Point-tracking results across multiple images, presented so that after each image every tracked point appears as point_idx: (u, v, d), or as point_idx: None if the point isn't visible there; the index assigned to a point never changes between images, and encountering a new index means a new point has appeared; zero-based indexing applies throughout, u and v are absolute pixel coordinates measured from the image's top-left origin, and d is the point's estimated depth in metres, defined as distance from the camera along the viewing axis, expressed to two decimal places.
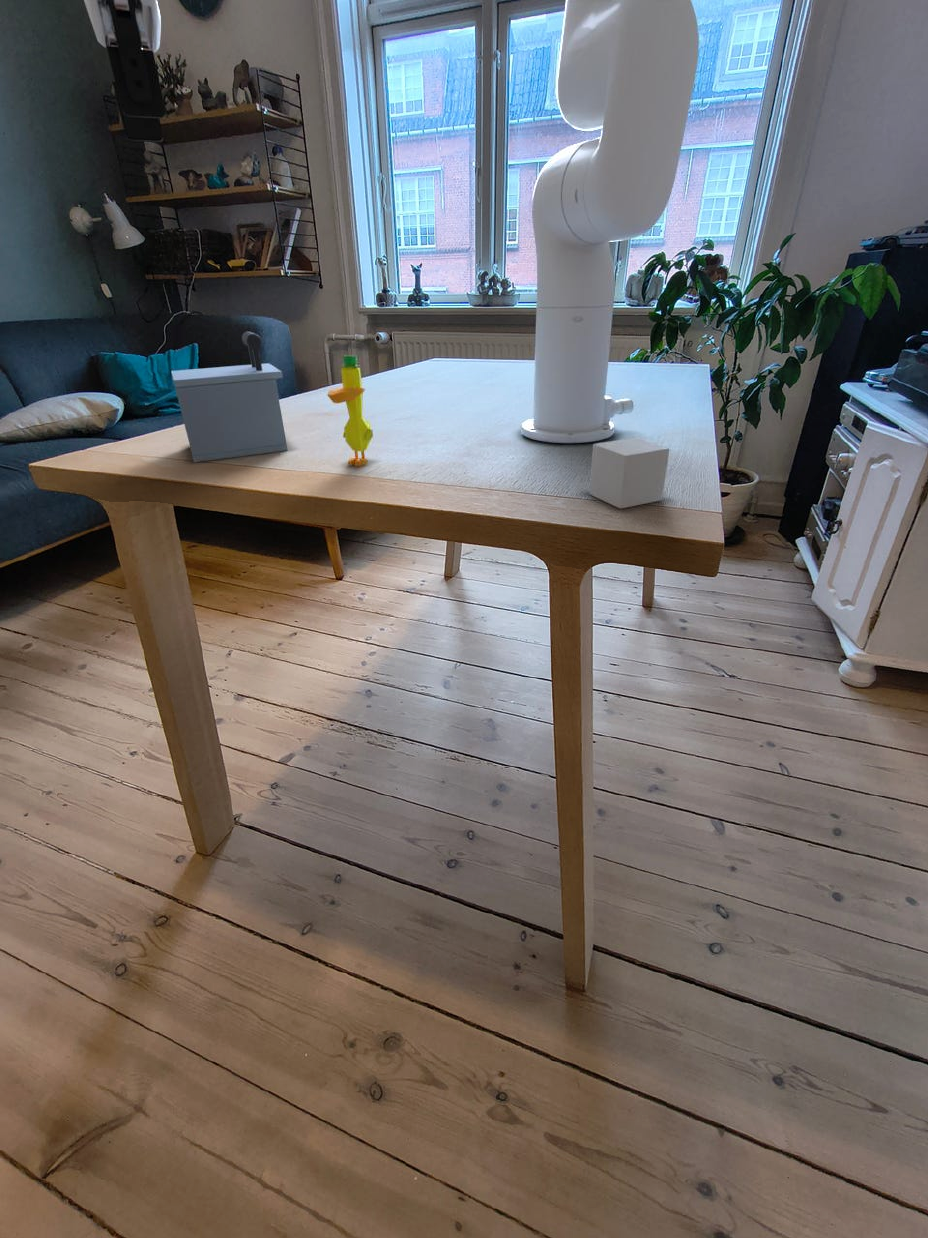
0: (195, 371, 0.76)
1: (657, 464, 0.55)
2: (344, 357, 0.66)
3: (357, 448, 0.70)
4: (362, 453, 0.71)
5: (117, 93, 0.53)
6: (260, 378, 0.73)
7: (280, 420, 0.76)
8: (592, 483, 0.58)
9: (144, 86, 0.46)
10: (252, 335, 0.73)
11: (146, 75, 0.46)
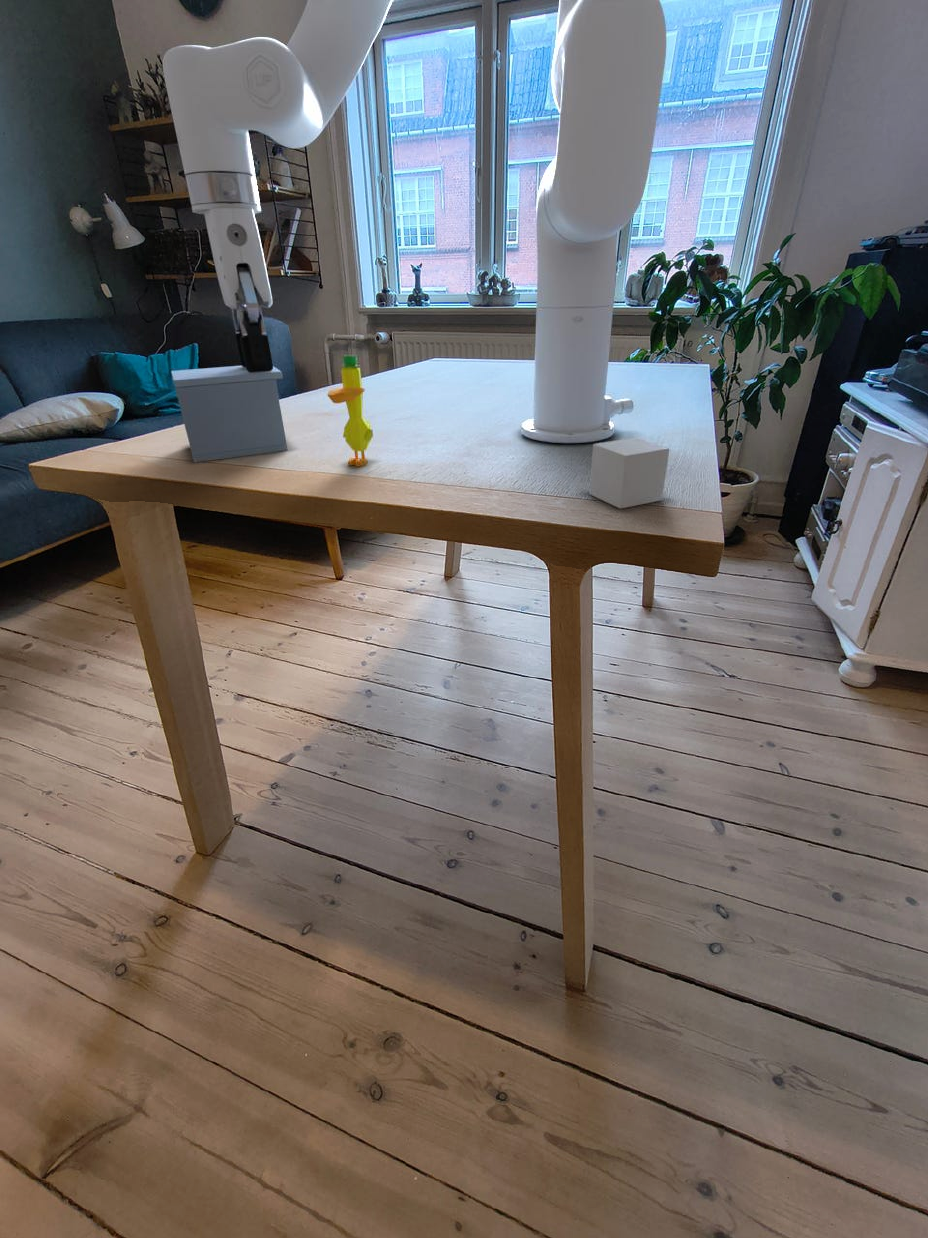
0: (195, 371, 0.76)
1: (657, 464, 0.55)
2: (344, 357, 0.66)
3: (357, 448, 0.70)
4: (362, 453, 0.71)
5: (238, 341, 0.77)
6: (260, 378, 0.73)
7: (280, 420, 0.76)
8: (592, 483, 0.58)
9: (261, 357, 0.73)
10: None
11: (263, 351, 0.73)
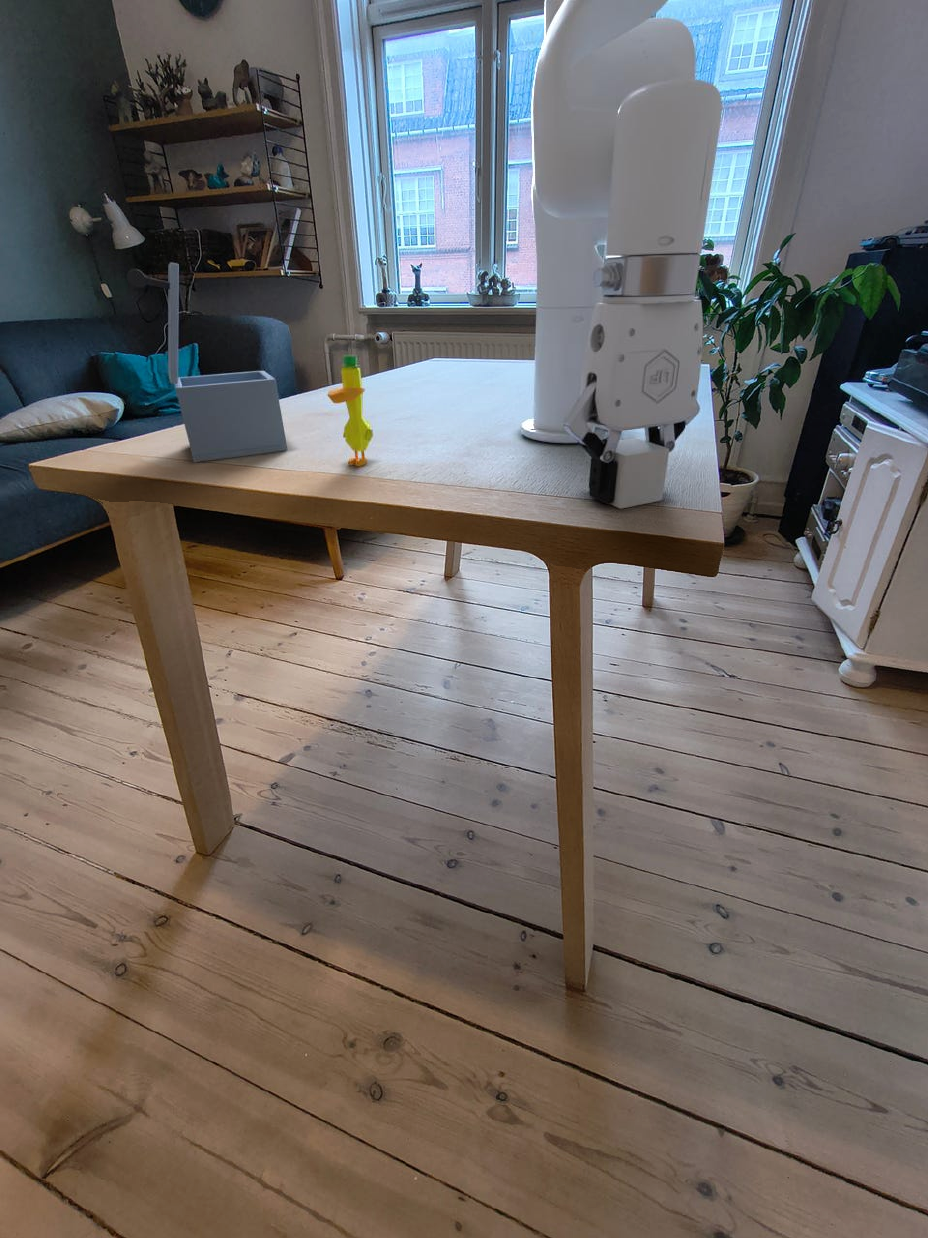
0: None
1: (657, 464, 0.55)
2: (344, 357, 0.66)
3: (357, 448, 0.70)
4: (362, 453, 0.71)
5: None
6: (176, 290, 0.66)
7: (280, 420, 0.76)
8: None
9: (596, 485, 0.56)
10: (129, 277, 0.65)
11: (598, 479, 0.55)
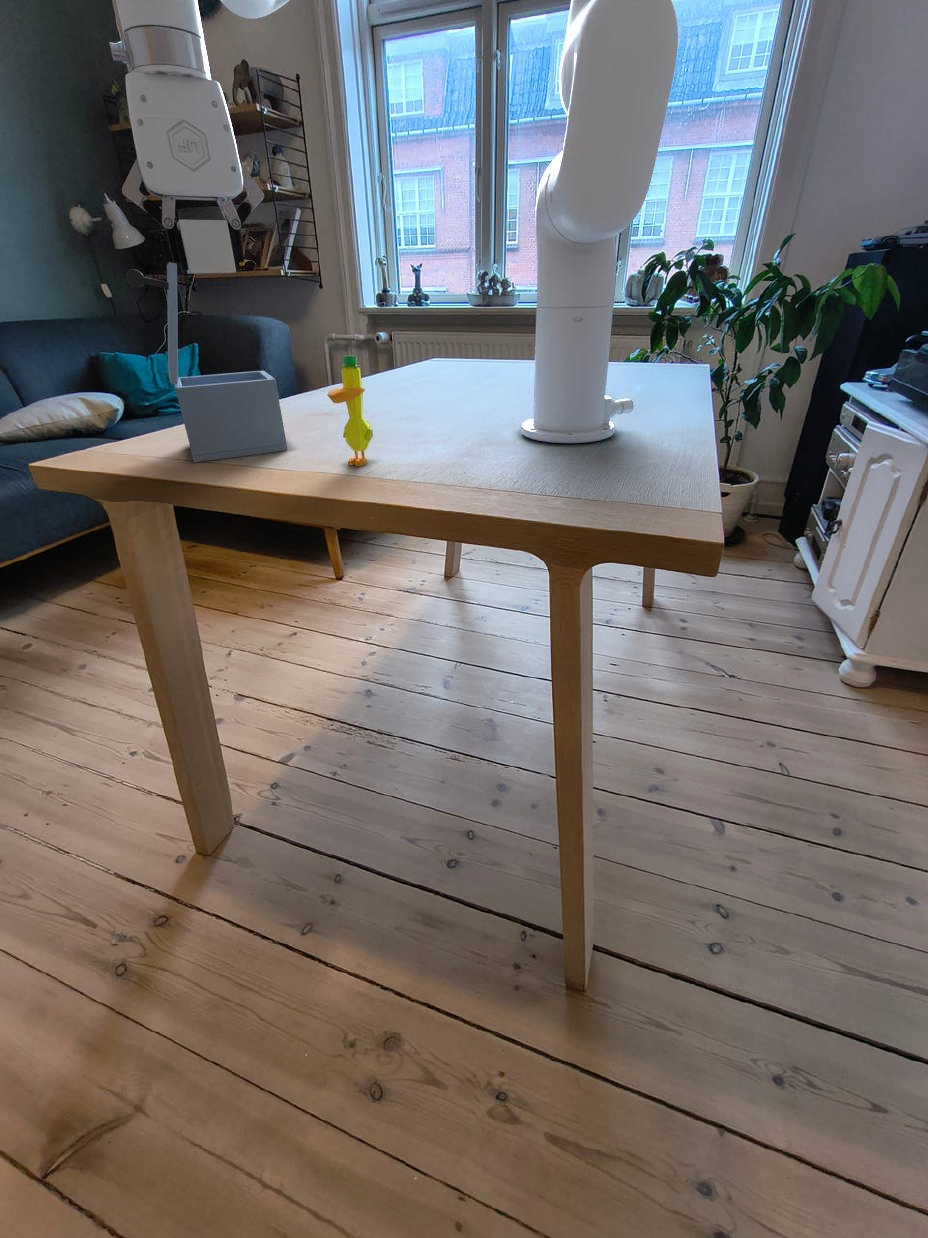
0: (168, 351, 0.74)
1: (218, 234, 0.66)
2: (344, 357, 0.66)
3: (357, 448, 0.70)
4: (362, 453, 0.71)
5: None
6: (175, 290, 0.66)
7: (280, 420, 0.76)
8: None
9: None
10: (127, 277, 0.65)
11: (170, 246, 0.67)
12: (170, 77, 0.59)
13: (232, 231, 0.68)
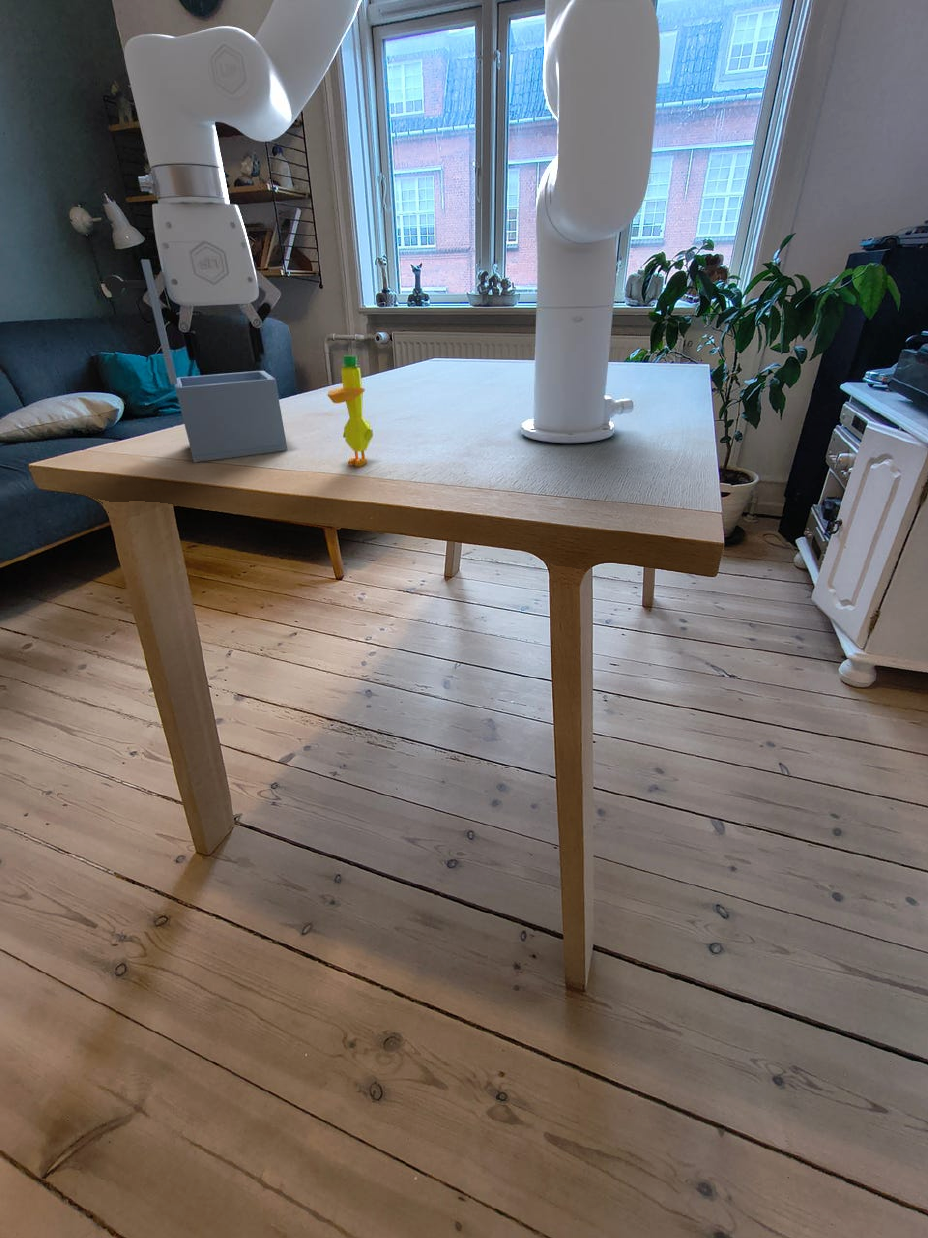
0: None
1: None
2: (344, 357, 0.66)
3: (357, 448, 0.70)
4: (362, 453, 0.71)
5: None
6: (154, 287, 0.65)
7: (280, 420, 0.76)
8: None
9: (187, 352, 0.72)
10: (106, 285, 0.65)
11: (186, 347, 0.72)
12: (193, 205, 0.65)
13: (254, 330, 0.73)
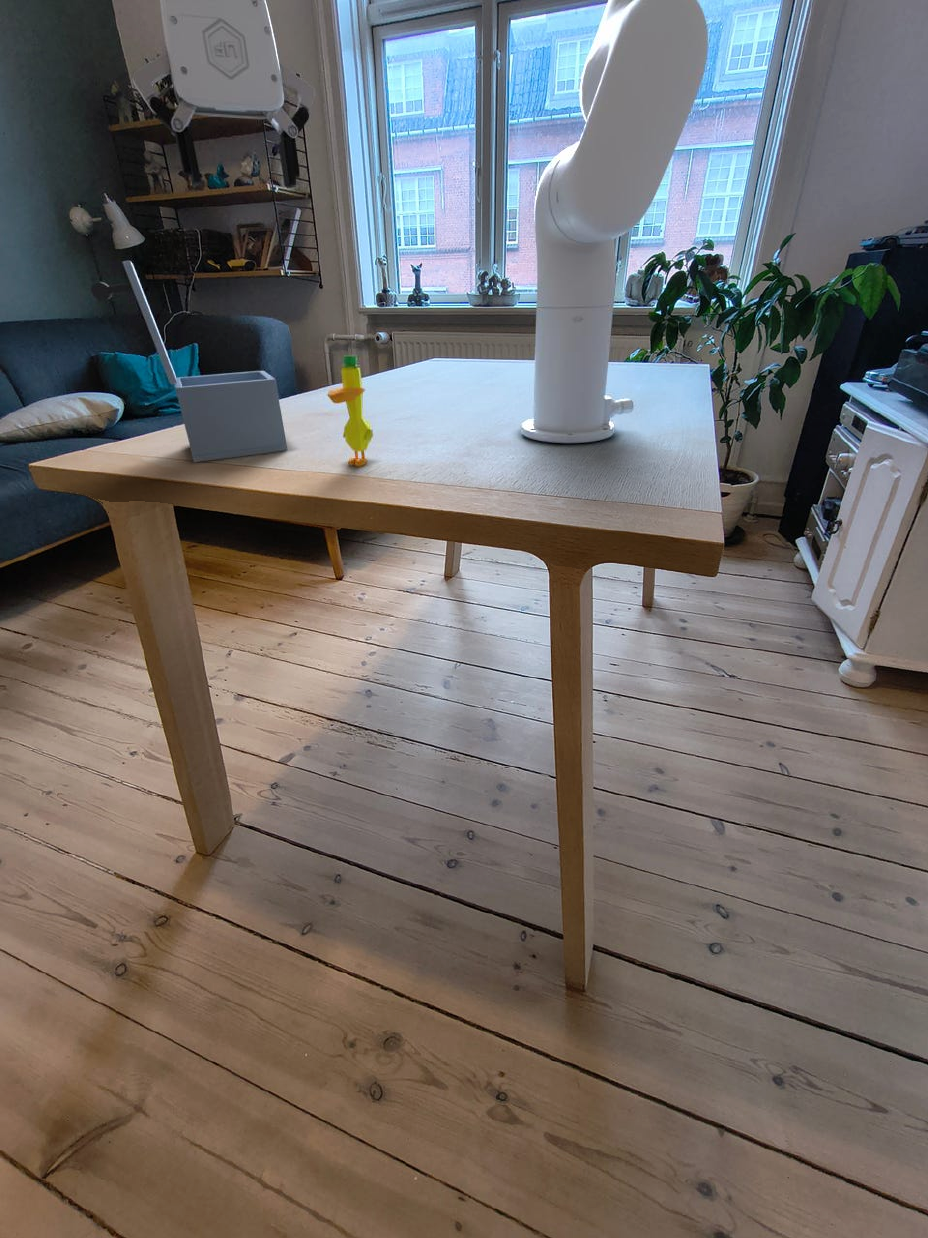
0: None
1: None
2: (344, 357, 0.66)
3: (357, 448, 0.70)
4: (362, 453, 0.71)
5: None
6: (139, 288, 0.64)
7: (280, 420, 0.76)
8: None
9: (182, 163, 0.60)
10: (93, 293, 0.65)
11: (180, 154, 0.59)
12: None
13: (288, 139, 0.62)
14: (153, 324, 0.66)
